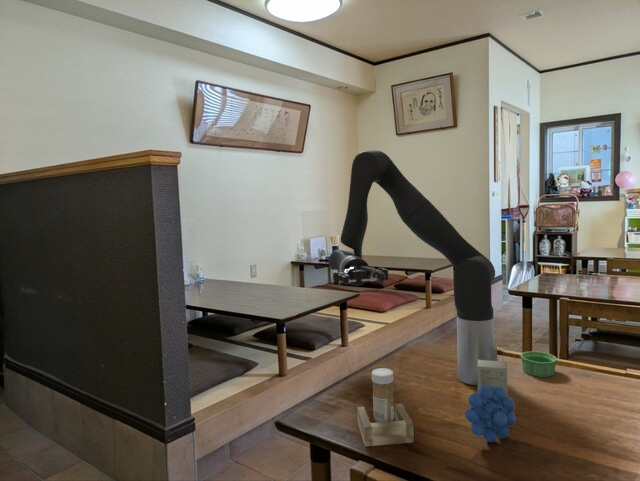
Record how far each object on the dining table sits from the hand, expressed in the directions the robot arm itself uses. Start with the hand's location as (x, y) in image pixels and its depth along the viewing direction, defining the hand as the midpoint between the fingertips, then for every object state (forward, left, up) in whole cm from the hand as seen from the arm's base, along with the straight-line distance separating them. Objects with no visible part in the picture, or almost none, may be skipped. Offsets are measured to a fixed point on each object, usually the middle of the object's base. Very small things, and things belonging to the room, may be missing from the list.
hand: (364, 279), depth 109 cm
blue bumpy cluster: (-20, +25, -30) cm, 44 cm away
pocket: (0, +18, -30) cm, 35 cm away
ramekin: (-49, -8, -30) cm, 59 cm away
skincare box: (-25, +14, -30) cm, 42 cm away
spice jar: (0, +18, -30) cm, 35 cm away
